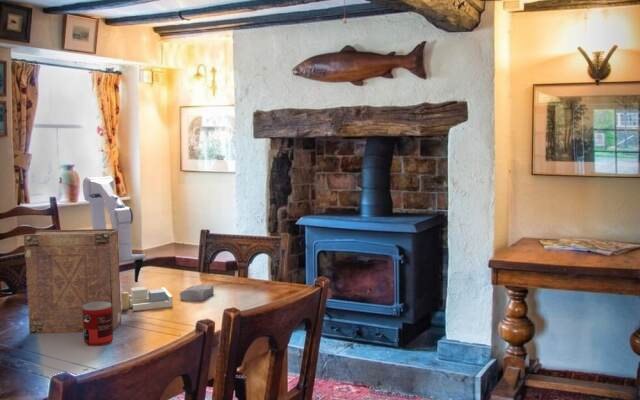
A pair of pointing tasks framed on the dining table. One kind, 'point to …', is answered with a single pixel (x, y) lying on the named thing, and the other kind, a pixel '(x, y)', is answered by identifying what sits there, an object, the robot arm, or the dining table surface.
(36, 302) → the book
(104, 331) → the canned food
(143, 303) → the lane rack
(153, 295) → the tethered block
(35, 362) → the dining table surface
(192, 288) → the stone block
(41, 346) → the dining table surface
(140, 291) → the cream cube
